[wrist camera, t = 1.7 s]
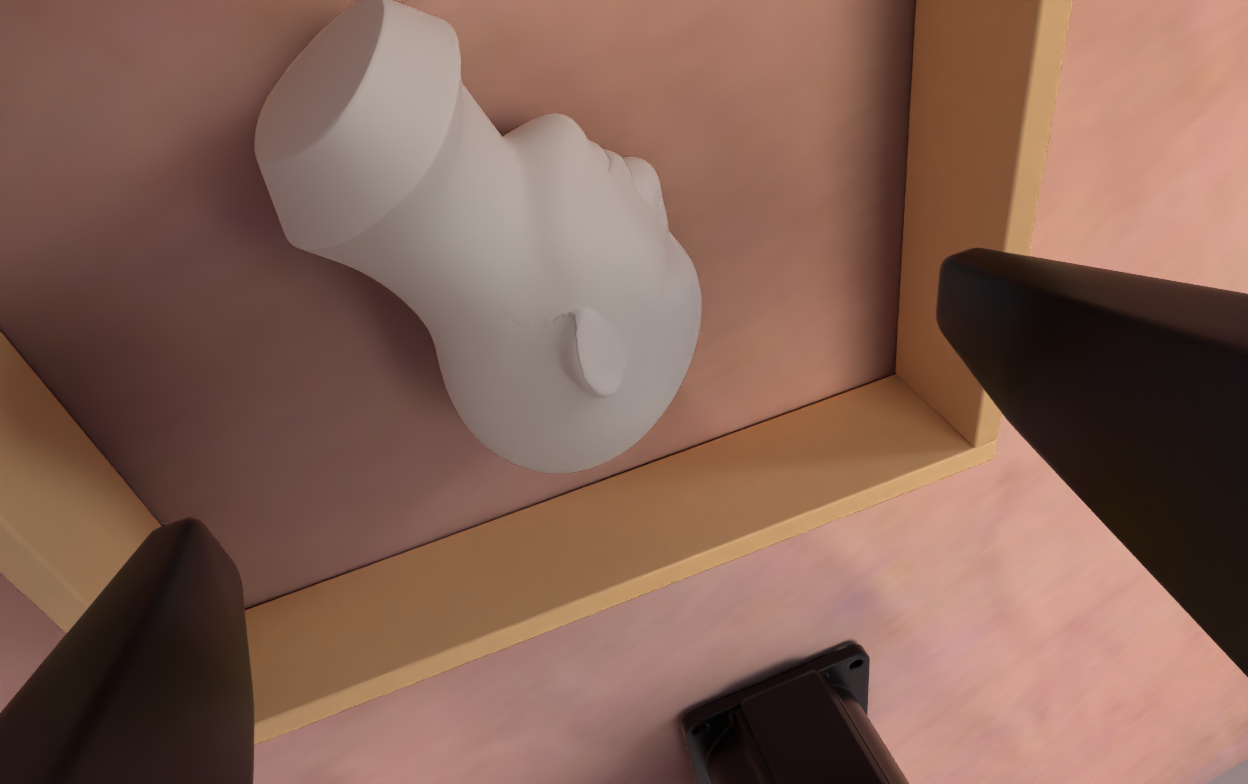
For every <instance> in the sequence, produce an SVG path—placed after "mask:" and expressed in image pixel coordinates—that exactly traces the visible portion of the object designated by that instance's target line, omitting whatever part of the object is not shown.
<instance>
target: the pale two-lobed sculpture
mask: <svg viewBox="0 0 1248 784" xmlns="http://www.w3.org/2000/svg"><path fill="white" fill-rule="evenodd" d="M255 156H256V159H257V162H258V165H259V167H260V170H261V173H262V175H263V178H264V181H265V183H266V186H267V189H268V191H269V194H270V197H271V199H272V202H273V205H274V207H275V210H276V213H277V215H278V218H279V221H280V223H281V226H282V229H283V231H284V234H285V236H286V238H287V239H288V241H289V242H290V243H291V244H292V245H293V246H295V247H297V248H299V249H301V250H304V251H307V252H310V253H313V254H316V255H318V256H321V257H324V258H327V259H330V260H333V261H336V262H339V263H341V264H344V265H347V266H349V267H351V268H354V269H356V270H358V271H360V272H362V273H364V274H366V275H367V276H369V277H371V278H373V279H374V280H376V281H378V282H379V283H381V284H382V285H384V286H385V287H386V288H388V289H389V290H391V291H392V292H393V293H394V294H396V295H397V296H398V297H399V298H401V299H402V300H403V301H404V302H405V303H406V304H407V305H408V306H409V307H410V308H411V309H412V310H413V311H414V312H415V313H416V314H417V315H418V316H419V318H420V319H421V320H422V321H423V323H424V324H425V326H426V327H427V329H428V330H429V332H430V334H431V336H432V339H433V342H434V345H435V349H436V353H437V357H438V362H439V366H440V370H441V373H442V377H443V380H444V383H445V386H446V389H447V392H448V394H449V396H450V399H451V401H452V403H453V405H454V407H455V409H456V411H457V412H458V414H459V416H460V418H461V419H462V421H463V422H464V424H465V425H466V426H467V428H468V429H469V430H470V431H471V433H472V434H473V435H474V436H475V437H476V438H477V439H478V440H479V441H480V442H481V443H482V444H483V445H484V446H485V447H487V448H488V449H489V450H491V451H492V452H493V453H495V454H496V455H498V456H499V457H501V458H503V459H505V460H506V461H508V462H511V463H513V464H515V465H517V466H520V467H523V468H526V469H529V470H533V471H538V472H543V473H554V474H562V473H573V472H579V471H584V470H587V469H590V468H593V467H596V466H599V465H601V464H603V463H605V462H608V461H610V460H612V459H613V458H615V457H617V456H619V455H621V454H622V453H623V452H625V451H626V450H628V449H629V448H631V447H632V446H633V445H634V444H635V443H637V442H638V441H639V440H640V439H641V438H642V437H643V436H644V435H645V434H646V433H647V432H648V431H649V430H650V429H651V428H652V427H653V426H654V425H655V423H656V422H657V421H658V420H659V418H660V417H661V416H662V415H663V413H664V412H665V410H666V409H667V408H668V406H669V405H670V403H671V401H672V400H673V398H674V396H675V395H676V393H677V391H678V389H679V388H680V386H681V384H682V382H683V380H684V377H685V375H686V373H687V371H688V368H689V366H690V363H691V361H692V358H693V355H694V351H695V348H696V344H697V341H698V336H699V330H700V322H701V311H702V302H701V290H700V284H699V280H698V276H697V272H696V270H695V267H694V265H693V262H692V261H691V259H690V257H689V255H688V254H687V253H686V251H685V250H684V249H683V247H682V246H681V245H680V244H679V242H678V241H677V240H676V239H675V238H674V236H673V235H672V234H671V233H670V232H669V231H668V220H667V214H666V209H665V206H664V202H663V198H662V191H661V184H660V180H659V177H658V175H657V173H656V171H655V170H654V168H653V167H652V166H651V165H650V164H649V163H648V162H647V161H645V160H644V159H642V158H639V157H634V156H628V157H623V158H622V157H621V156H620V155H618V154H617V153H615V152H613V151H610V150H607V149H602V148H601V147H600V146H599V145H598V144H597V143H595V142H593V141H590V140H588V139H587V137H586V135H585V134H584V132H583V130H582V129H581V128H580V126H579V125H578V124H577V123H576V122H575V121H574V120H573V119H571V118H570V117H568V116H566V115H563V114H559V113H550V114H545V115H542V116H539V117H537V118H534V119H532V120H530V121H528V122H526V123H525V124H523V125H521V126H519V127H518V128H516V129H514V130H512V131H511V132H509V133H507V134H506V135H504V136H501V135H500V133H499V132H498V131H497V129H496V128H495V127H494V125H493V124H492V123H491V121H490V120H489V118H488V117H487V116H486V114H485V113H484V112H483V110H482V109H481V108H480V106H479V105H478V103H477V102H476V101H475V99H474V98H473V97H472V95H471V94H470V92H469V91H468V90H467V88H466V87H465V86H464V84H463V83H462V76H461V55H460V46H459V41H458V38H457V35H456V33H455V30H454V29H453V27H452V26H451V25H450V24H449V23H448V22H447V21H446V20H444V19H442V18H440V17H437V16H434V15H432V14H429V13H426V12H423V11H421V10H418V9H415V8H413V7H410V6H407V5H405V4H402V3H399V2H396V1H394V0H358V1H356V2H354V3H353V4H351V5H350V6H348V7H347V8H346V9H344V10H343V11H342V12H341V13H339V14H338V15H337V16H336V17H335V18H334V19H333V20H332V21H331V22H329V23H328V24H327V25H326V26H325V27H324V28H323V29H322V30H321V31H320V32H319V33H318V34H317V35H316V36H315V37H314V38H313V39H312V40H311V41H310V43H309V44H308V45H307V46H306V47H305V48H304V49H303V50H302V51H301V52H300V54H299V55H298V56H297V57H296V58H295V59H294V61H293V62H292V63H291V64H290V65H289V67H288V68H287V69H286V71H285V72H284V73H283V75H282V76H281V77H280V79H279V80H278V82H277V83H276V85H275V86H274V88H273V89H272V91H271V92H270V94H269V96H268V98H267V100H266V101H265V103H264V105H263V108H262V110H261V112H260V115H259V118H258V121H257V126H256V132H255Z"/></svg>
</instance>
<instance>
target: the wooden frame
mask: <svg viewBox="0 0 1248 784" xmlns="http://www.w3.org/2000/svg"><path fill="white" fill-rule="evenodd" d="M1072 3H1073V0H916V12H915V30H914V48H913V66H912V84H911V102H910V120H909V137H908V155H907V173H906V191H905V209H904V227H903V245H902V262H901V280H900V298H899V316H898V334H897V352H896V369H895V372H896V374H895V375H892V376H889V377H887V378H884V379H881V380H878V381H875V382H873V383H870V384H867V385H864V386H862V387H859V388H856V389H853V390H851V391H848V392H845V393H842V394H840V395H837V396H834V397H831V398H829V399H826V400H823V401H820V402H818V403H815V404H812V405H809V406H807V407H804V408H801V409H798V410H796V411H793V412H790V413H787V414H785V415H782V416H779V417H776V418H774V419H771V420H768V421H765V422H763V423H760V424H757V425H754V426H751V427H749V428H746V429H743V430H740V431H738V432H735V433H732V434H729V435H727V436H724V437H721V438H718V439H716V440H713V441H710V442H707V443H705V444H702V445H699V446H696V447H694V448H691V449H688V450H685V451H683V452H680V453H677V454H674V455H672V456H669V457H666V458H663V459H661V460H658V461H655V462H652V463H650V464H647V465H644V466H641V467H639V468H636V469H633V470H630V471H628V472H625V473H622V474H619V475H616V476H614V477H611V478H608V479H605V480H603V481H600V482H597V483H594V484H592V485H589V486H586V487H583V488H581V489H578V490H575V491H572V492H570V493H567V494H564V495H561V496H559V497H556V498H553V499H550V500H548V501H545V502H542V503H539V504H537V505H534V506H531V507H528V508H526V509H523V510H520V511H517V512H515V513H512V514H509V515H506V516H504V517H501V518H498V519H495V520H493V521H490V522H487V523H484V524H481V525H479V526H476V527H473V528H470V529H468V530H465V531H462V532H459V533H457V534H454V535H451V536H448V537H446V538H443V539H440V540H437V541H435V542H432V543H429V544H426V545H424V546H421V547H418V548H415V549H413V550H410V551H407V552H404V553H402V554H399V555H396V556H393V557H391V558H388V559H385V560H382V561H380V562H377V563H374V564H371V565H369V566H366V567H363V568H360V569H358V570H355V571H352V572H349V573H346V574H344V575H341V576H338V577H335V578H333V579H330V580H327V581H324V582H322V583H319V584H316V585H313V586H311V587H308V588H305V589H302V590H300V591H297V592H294V593H291V594H289V595H286V596H283V597H280V598H278V599H275V600H272V601H269V602H267V603H264V604H261V605H258V606H256V607H253V608H250V609H247V610H245V618H246V627H247V637H248V646H249V656H250V665H251V675H252V684H253V697H254V745H257V744H259V743H262V742H264V741H267V740H269V739H272V738H275V737H277V736H280V735H282V734H285V733H288V732H290V731H293V730H295V729H298V728H300V727H303V726H306V725H308V724H311V723H313V722H316V721H319V720H321V719H324V718H326V717H329V716H331V715H334V714H337V713H339V712H342V711H344V710H347V709H349V708H352V707H355V706H357V705H360V704H362V703H365V702H368V701H370V700H373V699H375V698H378V697H380V696H383V695H386V694H388V693H391V692H393V691H396V690H399V689H401V688H404V687H406V686H409V685H411V684H414V683H417V682H419V681H422V680H424V679H427V678H429V677H432V676H435V675H437V674H440V673H442V672H445V671H448V670H450V669H453V668H455V667H458V666H460V665H463V664H466V663H468V662H471V661H473V660H476V659H479V658H481V657H484V656H486V655H489V654H491V653H494V652H497V651H499V650H502V649H504V648H507V647H509V646H512V645H515V644H517V643H520V642H522V641H525V640H528V639H530V638H533V637H535V636H538V635H540V634H543V633H546V632H548V631H551V630H553V629H556V628H558V627H561V626H564V625H566V624H569V623H571V622H574V621H577V620H579V619H582V618H584V617H587V616H589V615H592V614H595V613H597V612H600V611H602V610H605V609H608V608H610V607H613V606H615V605H618V604H620V603H623V602H626V601H628V600H631V599H633V598H636V597H638V596H641V595H644V594H646V593H649V592H651V591H654V590H657V589H659V588H662V587H664V586H667V585H669V584H672V583H675V582H677V581H680V580H682V579H685V578H688V577H690V576H693V575H695V574H698V573H700V572H703V571H706V570H708V569H711V568H713V567H716V566H718V565H721V564H724V563H726V562H729V561H731V560H734V559H737V558H739V557H742V556H744V555H747V554H749V553H752V552H755V551H757V550H760V549H762V548H765V547H768V546H770V545H773V544H775V543H778V542H780V541H783V540H786V539H788V538H791V537H793V536H796V535H798V534H801V533H804V532H806V531H809V530H811V529H814V528H817V527H819V526H822V525H824V524H827V523H829V522H832V521H835V520H837V519H840V518H842V517H845V516H848V515H850V514H853V513H855V512H858V511H860V510H863V509H866V508H868V507H871V506H873V505H876V504H878V503H881V502H884V501H886V500H889V499H891V498H894V497H897V496H899V495H902V494H904V493H907V492H909V491H912V490H915V489H917V488H920V487H922V486H925V485H927V484H930V483H933V482H935V481H938V480H940V479H943V478H946V477H948V476H951V475H953V474H956V473H958V472H961V471H964V470H966V469H969V468H971V467H974V466H977V465H979V464H982V463H984V462H987V461H989V460H992V459H993V458H994V456H995V450H996V445H997V440H996V439H997V437H998V432H999V426H1000V420H1001V415H1002V413H1001V411H1000V410H999V409H998V408H997V406H996V405H995V404H994V402H993V401H992V400H991V398H990V397H989V396H988V394H987V393H986V392H985V390H984V389H983V388H982V386H981V385H980V384H979V382H978V381H977V380H976V378H975V377H974V376H973V374H972V373H971V372H970V370H969V369H968V368H967V366H966V365H965V364H964V362H963V361H962V360H961V358H960V357H959V356H958V354H957V353H956V352H955V350H954V349H953V348H952V346H951V345H950V344H949V342H948V341H947V340H946V338H945V337H944V336H943V334H942V333H941V331H940V329H939V327H938V324H937V320H936V303H937V291H938V280H939V270H940V266H941V263H942V262H943V260H944V259H945V258H946V257H948V256H950V255H953V254H956V253H959V252H962V251H965V250H967V249H970V248H985V249H991V250H996V251H1002V252H1008V253H1014V254H1020V255H1025V256H1029V252H1030V246H1031V241H1032V235H1033V229H1034V223H1035V217H1036V212H1037V206H1038V200H1039V194H1040V188H1041V183H1042V177H1043V171H1044V165H1045V159H1046V154H1047V148H1048V142H1049V136H1050V130H1051V125H1052V119H1053V113H1054V107H1055V101H1056V96H1057V90H1058V84H1059V78H1060V72H1061V67H1062V61H1063V55H1064V49H1065V43H1066V38H1067V32H1068V26H1069V20H1070V14H1071V9H1072ZM159 527H162V526H161V525H160V524H159V522H158V521H157V520H156V519H155V517H154V516H153V515H152V514H151V513H150V511H149V510H148V509H147V508H146V507H145V505H144V504H143V503H142V502H141V501H140V499H139V498H138V497H137V496H136V495H135V493H134V492H133V491H132V490H131V488H130V487H129V486H128V485H127V484H126V482H125V481H124V480H123V479H122V478H121V476H120V475H119V474H118V473H117V472H116V470H115V469H114V468H113V467H112V466H111V464H110V463H109V462H108V461H107V459H106V458H105V457H104V456H103V455H102V453H101V452H100V451H99V450H98V449H97V447H96V446H95V445H94V444H93V443H92V441H91V440H90V439H89V438H88V436H87V435H86V434H85V433H84V432H83V430H82V429H81V428H80V427H79V426H78V424H77V423H76V422H75V421H74V420H73V418H72V417H71V416H70V415H69V414H68V412H67V411H66V410H65V409H64V407H63V406H62V405H61V404H60V403H59V401H58V400H57V399H56V398H55V397H54V395H53V394H52V393H51V392H50V391H49V389H48V388H47V387H46V386H45V385H44V383H43V382H42V381H41V380H40V378H39V377H38V376H37V375H36V374H35V372H34V371H33V370H32V369H31V368H30V366H29V365H28V364H27V363H26V362H25V360H24V359H23V358H22V357H21V356H20V354H19V353H18V352H17V351H16V349H15V348H14V347H13V346H12V345H11V343H10V342H9V341H8V340H7V339H6V337H5V336H4V335H3V334H2V333H1V331H0V573H1V574H2V575H3V576H4V577H5V578H7V579H8V580H9V581H10V582H11V583H12V584H13V585H14V586H15V587H16V588H17V589H19V590H20V591H21V592H22V593H23V594H24V595H25V596H26V597H27V598H28V599H29V600H30V601H32V602H33V603H34V604H35V605H36V606H37V607H38V608H39V609H40V610H41V611H42V612H43V613H45V614H46V615H47V616H48V617H49V618H50V619H51V620H52V621H53V622H54V623H55V624H57V625H58V626H59V627H60V628H61V629H62V630H63V631H64V632H65V633H66V634H67V633H68V631H69V630H70V629H71V628H72V627H73V625H74V624H75V623H76V622H77V621H78V619H79V618H80V617H81V616H82V615H83V613H84V612H85V611H86V610H87V609H88V607H89V606H90V605H91V604H92V603H93V601H94V600H95V599H96V598H97V597H98V595H99V594H100V593H101V592H102V591H103V589H104V588H105V587H106V586H107V585H108V583H109V582H110V581H111V580H112V579H113V577H114V576H115V575H116V574H117V573H118V571H119V570H120V569H121V568H122V567H123V565H124V564H125V563H126V562H127V561H128V559H129V558H130V557H131V556H132V555H133V553H134V552H135V551H136V550H137V549H138V547H139V546H140V545H141V544H142V543H143V541H144V540H145V539H146V538H147V537H148V535H149V534H150V533H151V532H152V531H153V530H155V529H157V528H159Z"/></svg>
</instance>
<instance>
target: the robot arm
mask: <svg viewBox="0 0 1248 784" xmlns="http://www.w3.org/2000/svg"><path fill="white" fill-rule="evenodd" d="M936 320H937V324H938V327H939V329H940V331H941V333H942V334H943V336H944V337H945V338H946V340H947V341H948V342H949V344H950V345H951V346H952V348H953V349H954V350H955V352H956V353H957V354H958V356H959V357H960V358H961V360H962V361H963V362H964V364H965V365H966V366H967V368H968V369H969V370H970V372H971V373H972V374H973V376H974V377H975V378H976V380H977V381H978V382H979V384H980V385H981V386H982V388H983V389H984V390H985V392H986V393H987V394H988V396H989V397H990V398H991V400H992V401H993V402H994V404H995V405H996V406H997V408H998V409H999V410H1000V411H1001V413H1002V414H1003V415H1004V416H1005V417H1006V419H1007V420H1008V421H1009V422H1010V423H1011V425H1012V426H1013V427H1014V428H1015V429H1016V430H1017V431H1018V432H1019V434H1020V435H1021V436H1022V437H1023V438H1024V439H1025V440H1026V441H1027V442H1028V443H1029V444H1030V445H1031V446H1032V448H1033V449H1034V450H1035V451H1036V452H1037V453H1038V454H1039V455H1040V456H1041V457H1042V458H1043V459H1044V460H1045V461H1046V462H1047V464H1048V465H1049V466H1050V467H1051V468H1052V469H1053V470H1054V471H1055V472H1056V473H1057V474H1058V475H1059V476H1060V477H1061V478H1062V480H1063V481H1064V482H1065V483H1066V484H1067V485H1068V486H1069V487H1070V488H1071V489H1072V490H1073V491H1074V492H1075V493H1076V494H1077V496H1078V497H1079V498H1080V499H1081V500H1082V501H1083V502H1084V503H1085V504H1086V505H1087V506H1088V507H1089V508H1090V509H1091V510H1092V512H1093V513H1094V514H1095V515H1096V516H1097V517H1098V518H1099V519H1100V520H1101V521H1102V522H1103V523H1104V524H1105V525H1106V526H1107V528H1108V529H1109V530H1110V531H1111V532H1112V533H1113V534H1114V535H1115V536H1116V537H1117V538H1118V539H1119V540H1120V541H1121V542H1122V544H1123V545H1124V546H1125V547H1126V548H1127V549H1128V550H1129V551H1130V552H1131V553H1132V554H1133V555H1134V556H1135V557H1136V558H1137V560H1138V561H1139V562H1140V563H1141V564H1142V565H1143V566H1144V567H1145V568H1146V569H1147V570H1148V571H1149V572H1150V573H1151V574H1152V576H1153V577H1154V578H1155V579H1156V580H1157V581H1158V582H1159V583H1160V584H1161V585H1162V586H1163V587H1164V588H1165V589H1166V590H1167V592H1168V593H1169V594H1170V595H1171V596H1172V597H1173V598H1174V599H1175V600H1176V601H1177V602H1178V603H1179V604H1180V605H1181V606H1182V608H1183V609H1184V610H1185V611H1186V612H1187V613H1188V614H1189V615H1190V616H1191V617H1192V618H1193V619H1194V620H1195V621H1196V622H1197V624H1198V625H1199V626H1200V627H1201V628H1202V629H1203V630H1204V631H1205V632H1206V633H1207V634H1208V635H1209V636H1210V637H1211V638H1212V640H1213V641H1214V642H1215V643H1216V644H1217V645H1218V646H1219V647H1220V648H1221V649H1222V650H1223V651H1224V652H1225V653H1226V654H1227V656H1228V657H1229V658H1230V659H1231V660H1232V661H1233V662H1234V663H1235V664H1236V665H1237V666H1238V667H1239V668H1240V669H1241V670H1242V672H1243V673H1244V674H1245V675H1246V676H1247V677H1248V294H1246V293H1240V292H1234V291H1228V290H1222V289H1217V288H1211V287H1205V286H1199V285H1193V284H1188V283H1182V282H1176V281H1170V280H1164V279H1159V278H1153V277H1147V276H1141V275H1135V274H1130V273H1124V272H1118V271H1112V270H1107V269H1101V268H1095V267H1089V266H1083V265H1078V264H1072V263H1066V262H1060V261H1054V260H1049V259H1043V258H1037V257H1031V256H1025V255H1020V254H1014V253H1008V252H1002V251H996V250H991V249H985V248H970V249H967V250H965V251H962V252H959V253H956V254H953V255H950V256H948V257H946V258H945V259H944V260H943V262H942V263H941V266H940V270H939V280H938V291H937V303H936ZM868 683H869V656H868V654H867V653H866V651H865V650H864V648H863V647H862V646H861V645H851V646H848V647H846V648H843V649H841V650H839V651H836V652H834V653H831V654H829V655H826V656H824V657H822V658H819V659H817V660H814V661H812V662H810V663H807V664H805V665H802V666H800V667H797V668H795V669H793V670H790V671H788V672H785V673H783V674H781V675H778V676H776V677H773V678H771V679H768V680H766V681H764V682H761V683H759V684H756V685H754V686H752V687H749V688H747V689H744V690H742V691H739V692H737V693H735V694H732V695H730V696H727V697H725V698H723V699H720V700H718V701H715V702H713V703H710V704H708V705H706V706H703V707H701V708H698V709H696V710H694V711H692V712H690V713H688V714H687V715H686V716H684V717H683V719H682V721H681V727H682V731H683V735H684V739H685V742H686V746H687V750H688V754H689V758H690V762H691V766H692V770H693V774H694V777H695V781H696V784H909V782H908V781H907V779H906V778H905V776H904V774H903V773H902V771H901V770H900V768H899V766H898V765H897V763H896V762H895V760H894V758H893V757H892V755H891V754H890V752H889V750H888V749H887V747H886V746H885V744H884V742H883V741H882V739H881V738H880V736H879V734H878V733H877V731H876V730H875V728H874V726H873V725H872V723H871V722H870V720H869V718H868V717H867V706H868ZM253 772H254V697H253V684H252V675H251V665H250V656H249V646H248V637H247V627H246V618H245V608H244V599H243V589H242V582H241V578H240V574H239V572H238V569H237V567H236V565H235V564H234V562H233V561H232V559H231V558H230V557H229V556H228V554H227V553H226V552H225V550H224V549H223V548H222V547H221V545H220V544H219V543H218V541H217V540H216V539H215V537H214V536H213V535H212V534H211V532H210V531H209V530H208V528H207V527H206V526H205V525H204V524H203V523H202V522H201V521H200V520H198V519H196V518H191V517H189V518H185V519H182V520H179V521H176V522H173V523H170V524H168V525H165V526H162V527H159V528H157V529H155V530H153V531H152V532H151V533H150V534H149V535H148V537H147V538H146V539H145V540H144V541H143V543H142V544H141V545H140V546H139V547H138V549H137V550H136V551H135V552H134V553H133V555H132V556H131V557H130V558H129V559H128V561H127V562H126V563H125V564H124V565H123V567H122V568H121V569H120V570H119V571H118V573H117V574H116V575H115V576H114V577H113V579H112V580H111V581H110V582H109V583H108V585H107V586H106V587H105V588H104V589H103V591H102V592H101V593H100V594H99V595H98V597H97V598H96V599H95V600H94V601H93V603H92V604H91V605H90V606H89V607H88V609H87V610H86V611H85V612H84V613H83V615H82V616H81V617H80V618H79V619H78V621H77V622H76V623H75V624H74V625H73V627H72V628H71V629H70V630H69V631H68V633H67V634H66V635H65V636H64V637H63V639H62V640H61V641H60V642H59V643H58V645H57V646H56V647H55V648H54V649H53V651H52V652H51V653H50V654H49V655H48V657H47V658H46V659H45V660H44V661H43V663H42V664H41V665H40V666H39V667H38V669H37V670H36V671H35V672H34V673H33V675H32V676H31V677H30V678H29V679H28V681H27V682H26V683H25V684H24V685H23V687H22V688H21V689H20V690H19V691H18V693H17V694H16V695H15V696H14V697H13V699H12V700H11V701H10V702H9V703H8V705H7V706H6V707H5V708H4V709H3V711H2V712H1V713H0V784H253Z"/></svg>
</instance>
